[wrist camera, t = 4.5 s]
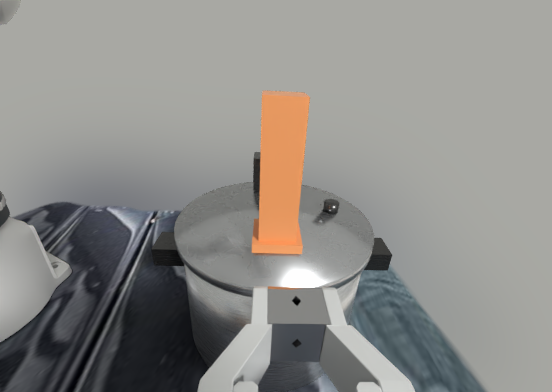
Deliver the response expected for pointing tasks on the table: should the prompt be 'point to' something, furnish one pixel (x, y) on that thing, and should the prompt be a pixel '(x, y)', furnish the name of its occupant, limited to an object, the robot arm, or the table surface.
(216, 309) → the cooker
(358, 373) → the robot arm
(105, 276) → the table surface
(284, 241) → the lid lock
